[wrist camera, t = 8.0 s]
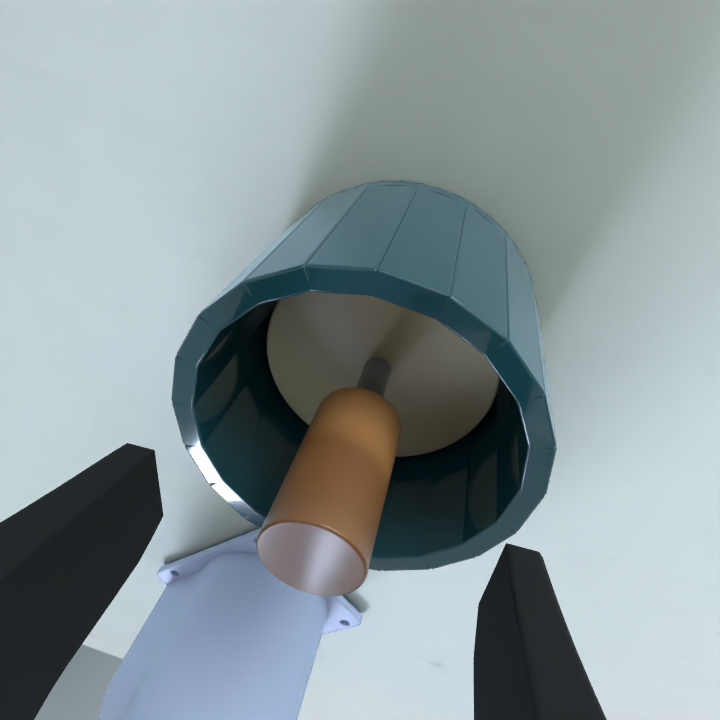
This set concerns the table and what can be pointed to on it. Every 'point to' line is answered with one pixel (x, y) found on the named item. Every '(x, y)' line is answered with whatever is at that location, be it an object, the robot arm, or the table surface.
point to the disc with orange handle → (358, 424)
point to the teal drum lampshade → (414, 292)
